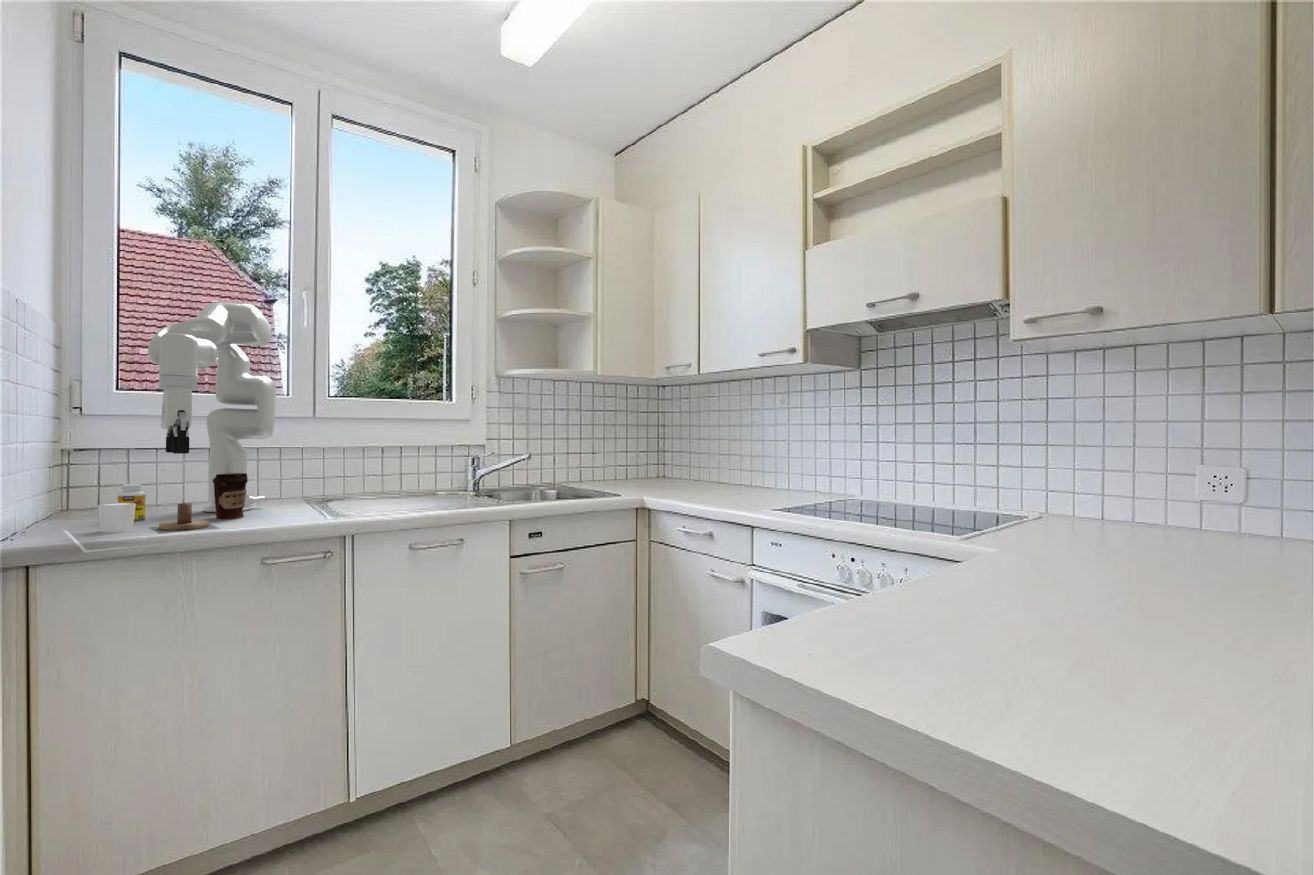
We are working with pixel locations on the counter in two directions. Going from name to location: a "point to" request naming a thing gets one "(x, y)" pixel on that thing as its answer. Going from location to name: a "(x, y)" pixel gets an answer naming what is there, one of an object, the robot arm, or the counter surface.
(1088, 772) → the counter surface
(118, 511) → the white cup
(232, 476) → the coffee cup
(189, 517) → the lid
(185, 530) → the mat
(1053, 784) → the counter surface
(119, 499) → the supplement bottle
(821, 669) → the counter surface
